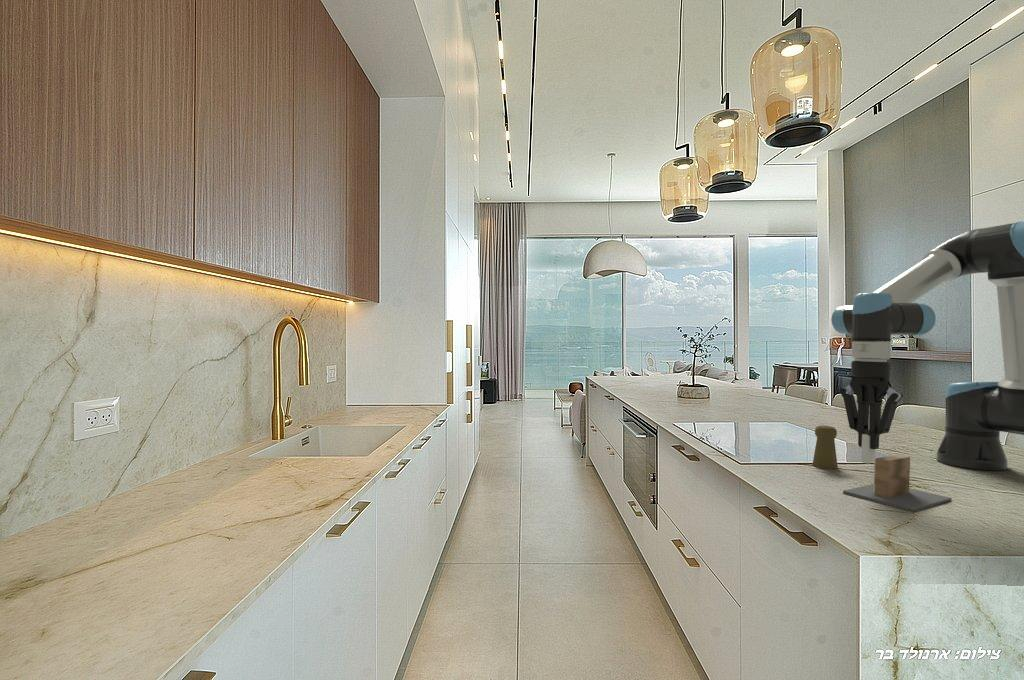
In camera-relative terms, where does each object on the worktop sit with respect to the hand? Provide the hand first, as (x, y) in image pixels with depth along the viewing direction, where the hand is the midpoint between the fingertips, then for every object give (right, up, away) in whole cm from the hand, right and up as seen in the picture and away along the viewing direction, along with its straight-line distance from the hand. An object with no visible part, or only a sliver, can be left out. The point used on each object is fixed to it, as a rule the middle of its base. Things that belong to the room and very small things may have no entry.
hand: (868, 462), depth 126 cm
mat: (+3, -7, -5) cm, 9 cm away
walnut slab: (+2, -6, -4) cm, 8 cm away
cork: (+3, -6, +22) cm, 23 cm away
